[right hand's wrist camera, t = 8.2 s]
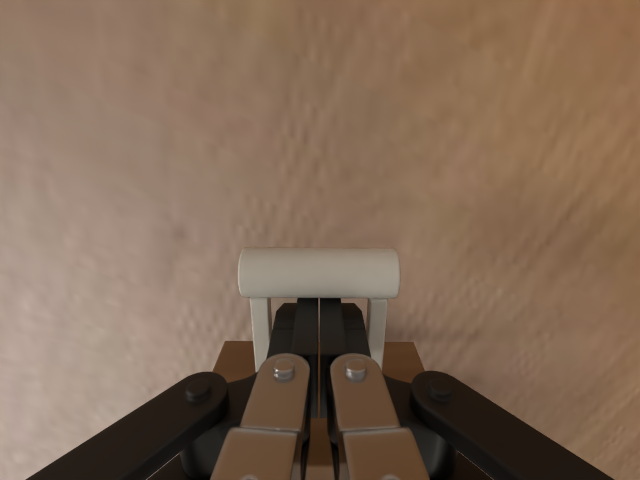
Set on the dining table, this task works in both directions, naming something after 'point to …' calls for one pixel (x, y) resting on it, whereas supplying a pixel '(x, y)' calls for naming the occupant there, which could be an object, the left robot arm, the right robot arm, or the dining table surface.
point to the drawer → (318, 282)
